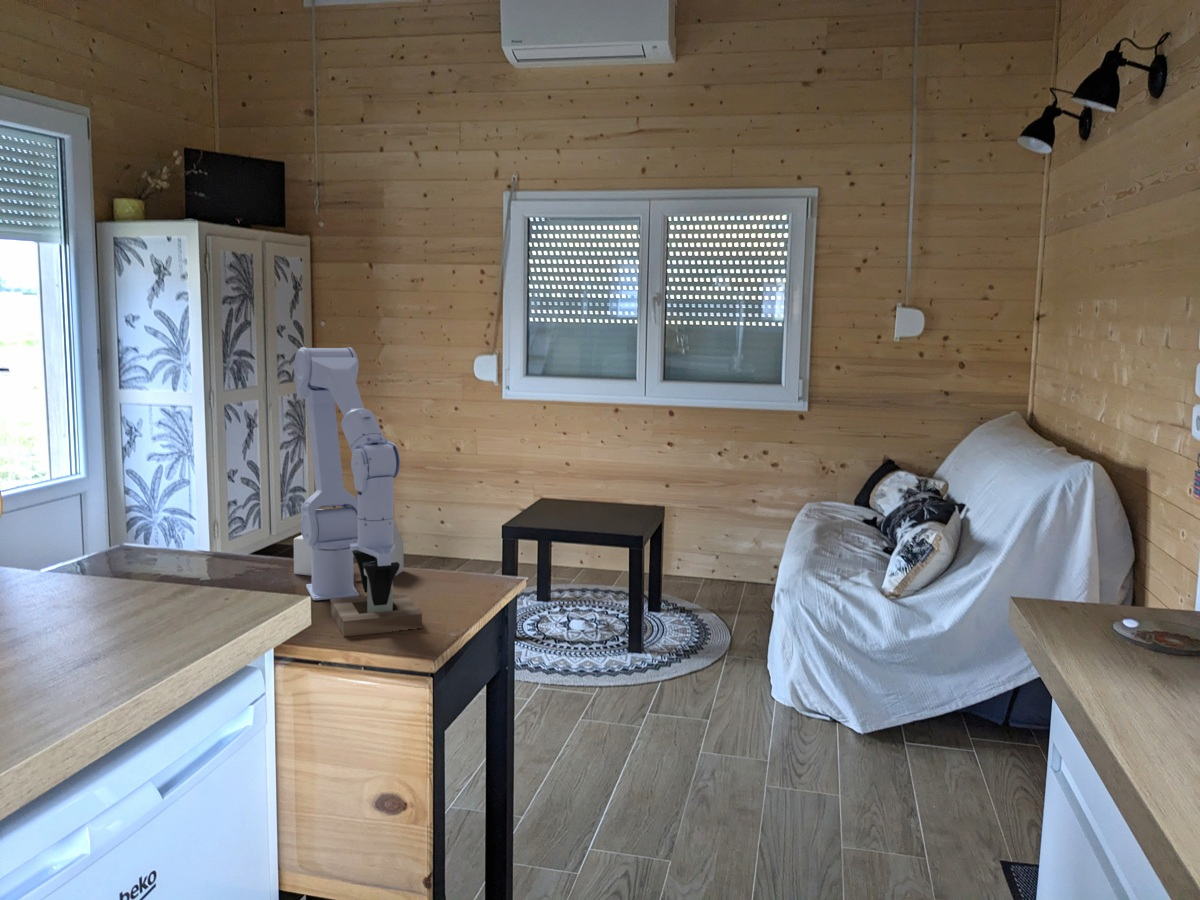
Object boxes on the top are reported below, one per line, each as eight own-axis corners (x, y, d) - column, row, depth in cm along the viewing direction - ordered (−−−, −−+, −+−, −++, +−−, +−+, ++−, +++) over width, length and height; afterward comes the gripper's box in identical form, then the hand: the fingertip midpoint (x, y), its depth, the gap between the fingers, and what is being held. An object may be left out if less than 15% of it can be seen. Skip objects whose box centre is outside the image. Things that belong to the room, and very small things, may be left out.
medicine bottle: (327, 577, 189) (327, 515, 187) (293, 574, 190) (292, 513, 189) (344, 568, 196) (344, 508, 194) (311, 565, 197) (310, 506, 196)
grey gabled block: (403, 570, 196) (403, 521, 194) (389, 579, 189) (389, 528, 188) (385, 569, 196) (385, 519, 195) (371, 578, 190) (371, 527, 188)
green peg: (364, 616, 166) (364, 561, 165) (396, 615, 168) (396, 560, 166) (363, 626, 161) (363, 569, 160) (395, 625, 162) (396, 568, 161)
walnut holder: (330, 613, 167) (330, 599, 167) (404, 606, 172) (404, 592, 172) (343, 636, 156) (343, 621, 156) (421, 628, 161) (422, 613, 161)
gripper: (342, 509, 167) (343, 588, 168) (358, 528, 153) (359, 612, 155) (384, 507, 169) (384, 584, 171) (404, 525, 156) (403, 608, 158)
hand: (375, 598), depth 164 cm, fingers open, 7 cm apart
